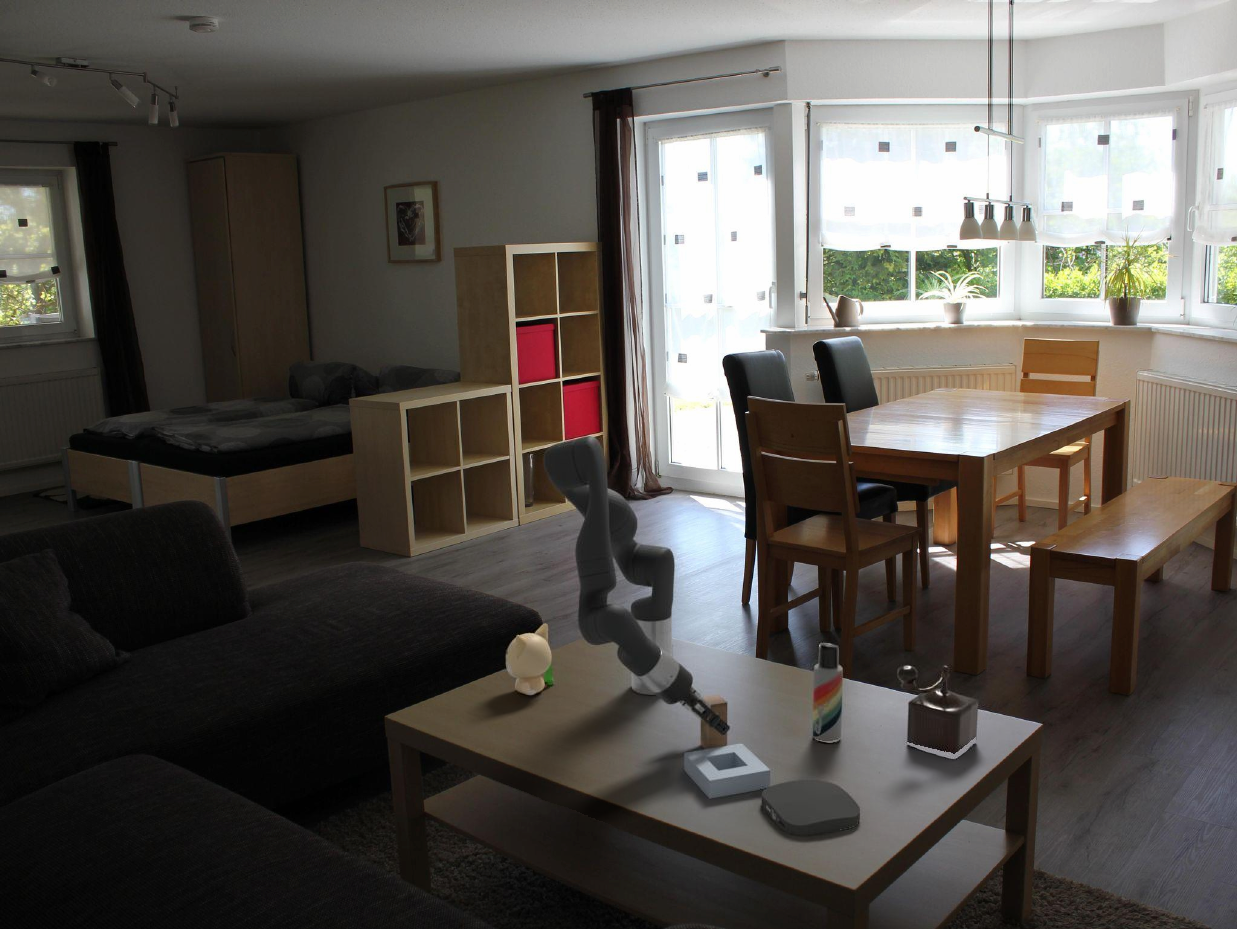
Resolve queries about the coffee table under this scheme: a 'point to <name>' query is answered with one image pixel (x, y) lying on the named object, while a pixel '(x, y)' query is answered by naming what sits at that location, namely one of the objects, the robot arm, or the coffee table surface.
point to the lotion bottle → (827, 694)
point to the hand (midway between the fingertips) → (717, 722)
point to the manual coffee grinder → (938, 714)
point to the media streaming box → (810, 807)
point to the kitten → (530, 661)
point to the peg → (709, 734)
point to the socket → (726, 770)
